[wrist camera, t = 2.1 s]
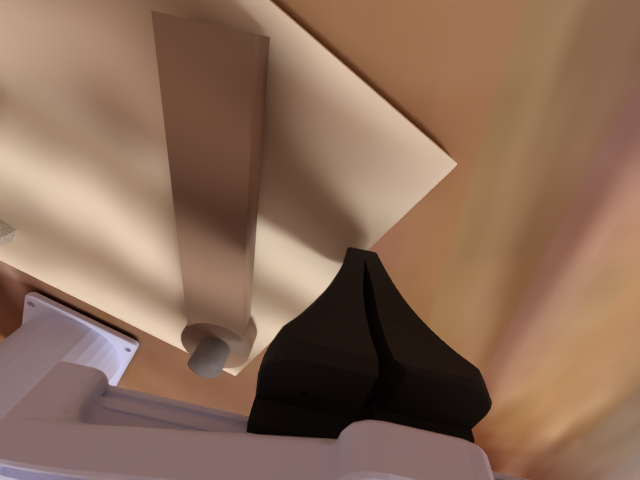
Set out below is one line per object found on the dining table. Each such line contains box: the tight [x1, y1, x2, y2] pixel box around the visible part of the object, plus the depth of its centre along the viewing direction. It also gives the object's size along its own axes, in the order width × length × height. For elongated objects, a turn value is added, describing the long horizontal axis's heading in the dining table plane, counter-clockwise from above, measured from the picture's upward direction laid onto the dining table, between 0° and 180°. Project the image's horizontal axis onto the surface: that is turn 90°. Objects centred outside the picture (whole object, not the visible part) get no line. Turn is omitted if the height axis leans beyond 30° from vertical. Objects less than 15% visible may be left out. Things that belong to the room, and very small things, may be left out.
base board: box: [0, 0, 458, 376], centre depth 14 cm, size 20×20×1 cm
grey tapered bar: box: [151, 10, 270, 378], centre depth 13 cm, size 17×4×3 cm, turn 169°
